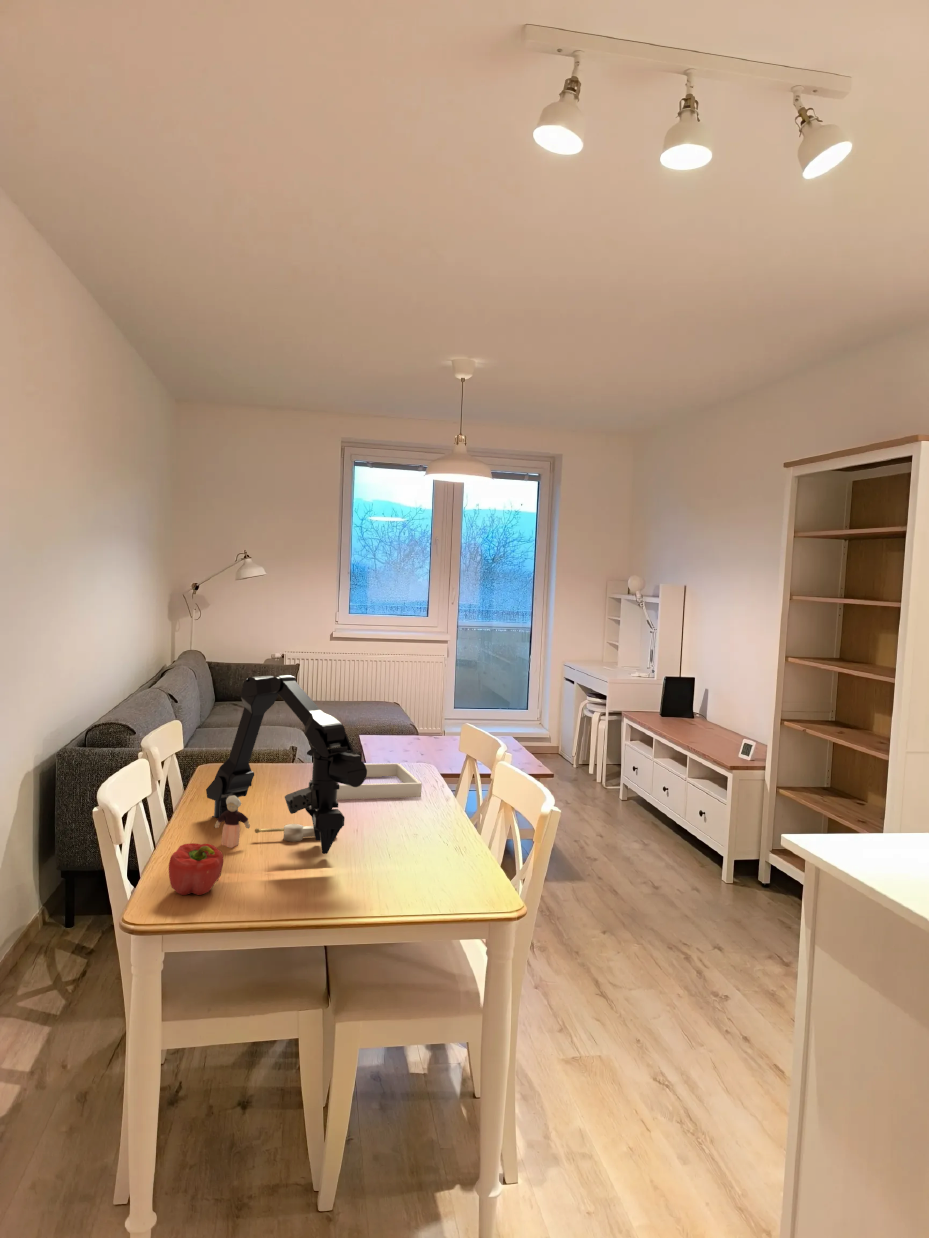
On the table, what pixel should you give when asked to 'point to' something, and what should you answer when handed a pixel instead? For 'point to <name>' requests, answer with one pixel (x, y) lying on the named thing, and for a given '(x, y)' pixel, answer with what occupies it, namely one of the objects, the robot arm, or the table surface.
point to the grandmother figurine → (232, 822)
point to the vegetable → (195, 868)
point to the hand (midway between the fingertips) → (321, 846)
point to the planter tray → (387, 790)
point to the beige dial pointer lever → (292, 832)
